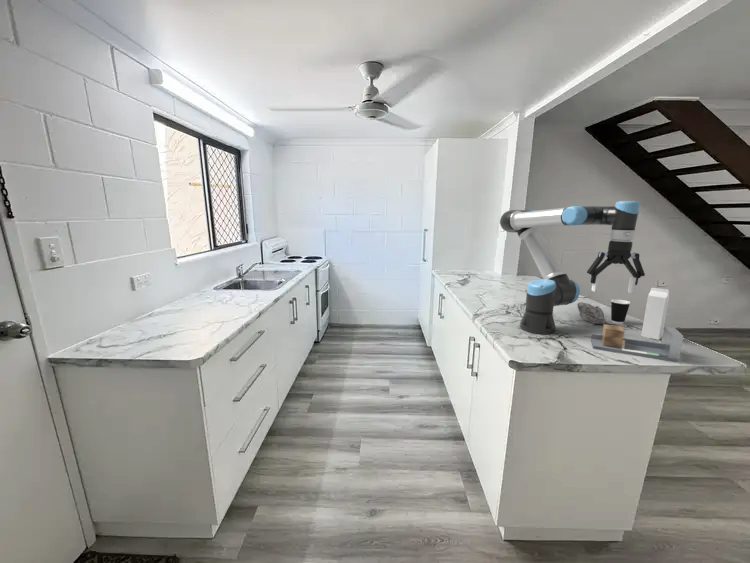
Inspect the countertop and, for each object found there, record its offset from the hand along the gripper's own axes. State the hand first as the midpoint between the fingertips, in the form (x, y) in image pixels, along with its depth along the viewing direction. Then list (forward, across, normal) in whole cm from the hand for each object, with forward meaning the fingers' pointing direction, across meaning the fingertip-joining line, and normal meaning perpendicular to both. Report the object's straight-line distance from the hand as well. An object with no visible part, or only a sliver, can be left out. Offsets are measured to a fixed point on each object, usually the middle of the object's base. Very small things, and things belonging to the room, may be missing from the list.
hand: (611, 291), depth 131 cm
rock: (+23, +7, +28) cm, 37 cm away
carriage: (+20, 0, -8) cm, 22 cm away
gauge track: (+22, +6, -9) cm, 24 cm away
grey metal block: (+20, +16, -13) cm, 29 cm away
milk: (+22, +24, +9) cm, 33 cm away
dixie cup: (+22, +20, +28) cm, 41 cm away
